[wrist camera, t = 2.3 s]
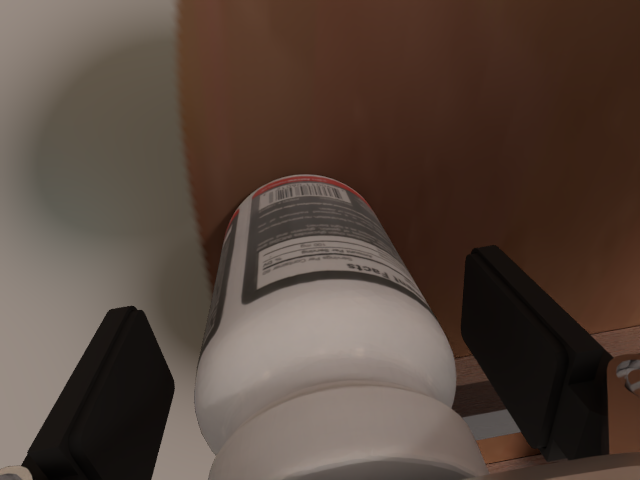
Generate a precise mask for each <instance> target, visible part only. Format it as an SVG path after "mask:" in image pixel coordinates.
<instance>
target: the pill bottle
mask: <svg viewBox="0 0 640 480" xmlns="http://www.w3.org/2000/svg"><path fill="white" fill-rule="evenodd" d="M194 392H195V396H194V400H195V402H194V403H195V412H196V416H197V420H198V424H199V426H200V430H201V433H202V435H203V437H204V438H205V440H206V442H207V444H208V445H209V447H210V448H211V450H212V452H213V453H214V454H215V455H216V457H215V459H214V462H213V464H212V467H211V470H210V473H209V478H208V480H462V479H467V478H473V477H478V476H483V475H489V474H490V473H489V471H488V469H487V466H486V464H485V462H484V460H483V457H482V455H481V452H480V450H479V447H478V445H477V443H476V440H475V438H474V436H473V434H472V432H471V430H470V428H469V427H468V425H467V423H466V422H465V421H464V420H463V419H462V418H461V416H460V415H459V414H457V413H456V412H455V411H454V410H452V409H451V408H452V405H453V402H454V397H455V392H456V367H455V360H454V356H453V352H452V350H451V347H450V345H449V342H448V340H447V338H446V335H445V334H444V332H443V330H442V328H441V326H440V324H439V322H438V320H437V318H436V317H435V315H434V314H433V312H432V310H431V309H430V307H429V305H428V303H427V302H426V300H425V298H424V297H423V295H422V293H421V292H420V290H419V288H418V287H417V285H416V283H415V281H414V280H413V278H412V276H411V275H410V273H409V271H408V269H407V268H406V266H405V264H404V263H403V261H402V259H401V258H400V256H399V254H398V253H397V251H396V249H395V247H394V246H393V244H392V242H391V241H390V239H389V237H388V235H387V234H386V232H385V230H384V229H383V227H382V225H381V224H380V222H379V220H378V218H377V216H376V214H375V213H374V211H373V210H372V209H371V207H370V206H369V204H368V203H367V202H366V201H365V200H364V198H363V197H362V196H361V195H360V194H358V193H357V192H356V191H355V190H353V189H352V188H350V187H349V186H347V185H345V184H343V183H341V182H339V181H337V180H334V179H332V178H328V177H325V176H319V175H309V174H302V175H292V176H287V177H282V178H279V179H276V180H274V181H271V182H269V183H267V184H265V185H263V186H262V187H260V188H258V189H257V190H256V191H254V192H253V193H252V194H250V195H249V196H248V197H247V198H246V199H245V200H244V201H243V202H242V203H241V204H240V206H239V207H238V208H237V210H236V211H235V213H234V215H233V216H232V218H231V220H230V222H229V225H228V228H227V230H226V233H225V237H224V242H223V247H222V252H221V257H220V262H219V267H218V272H217V277H216V281H215V286H214V291H213V296H212V301H211V306H210V310H209V315H208V320H207V325H206V329H205V333H204V339H203V344H202V349H201V352H200V357H199V362H198V366H197V374H196V383H195V391H194Z"/></svg>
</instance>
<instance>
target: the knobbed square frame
mask: <svg viewBox="0 0 640 480" xmlns="http://www.w3.org/2000/svg"><path fill="white" fill-rule="evenodd" d="M591 336H592V337H593V338H594V339H595V340H596V341H597V342H598V343H599V344H600V345H601V346H602V347H603V348H604V349H605V350H606V351H607V352H609V353H610V354H611V355H612V356H613V357H617V356H620V355H623V354H638V355H640V326H637V327H631V328H626V329H620V330H614V331H609V332H603V333H597V334H592V335H591ZM454 360H455V367H456V392H455V397H454V402H453V405H452V408H451V409H452V410H454V411H455V412H456V413H457V414H459V415H460V416H461V418H462V419H463V420H464V421H465V422H466V423H467V425H468V427H469V428H470V430H471V432H472V434H473V436H474V438H475V440H480V439H486V438H491V437H497V436H502V435H507V434H513V433H518V432H521V431H520V429H519V428H518V426H517V425H516V423H515V421H514V420H513V418H512V417H511V415H510V413H509V412H508V410H507V409H506V407H505V405H504V404H503V402H502V401H501V399H500V397H499V396H498V394H497V393H496V391H495V389H494V388H493V386H492V385H491V383H490V381H489V380H488V378H487V377H486V375H485V373H484V372H483V370H482V369H481V367H480V366H479V364H478V362H477V361H476V359H475V358H474V356H467V357H461V358H456V359H454ZM563 461H568V459H567V458H566V459H561V460H556V461H551V462H547V461H546V460H545V458H544V457H543V455H542V454H540V455H535V456H530V457H524V458H519V459H514V460H509V461H503V462H498V463H493V464H487V465H486V466H487V469H488V471H489V473H490V474H494V473H499V472H505V471H510V470H516V469H521V468H527V467H533V466H539V465H545V464H551V463H557V462H563Z"/></svg>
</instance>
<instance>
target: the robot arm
mask: <svg viewBox="0 0 640 480" xmlns="http://www.w3.org/2000/svg"><path fill="white" fill-rule="evenodd" d="M461 333H462V337H463V340H464V341H465V343H466V345H467V346H468V348H469V350H470V351H471V353H472V354H473V356H474V358H475V359H476V361H477V362H478V364H479V366H480V367H481V369H482V370H483V372H484V373H485V375H486V377H487V378H488V380H489V381H490V383H491V385H492V386H493V388H494V389H495V391H496V393H497V394H498V396H499V397H500V399H501V401H502V402H503V404H504V405H505V407H506V409H507V410H508V412H509V413H510V415H511V417H512V418H513V420H514V421H515V423H516V425H517V426H518V428H519V429H520V431H521V433H522V434H523V436H524V437H525V439H526V441H527V442H528V444H529V445H530V446H531V447H532V448H534V449H536V448H538V449H539V450H540V452H541V454H542V455H543V457H544V458H545V460H546V461H547V462H551V461H556V460H561V459H566V458H567V459H568V461H563V462H557V463H551V464H545V465H539V466H533V467H527V468H521V469H516V470H510V471H505V472H499V473H494V474H489V475H483V476H478V477H473V478H467V479H462V480H640V355H638V354H623V355H620V356H617V357H613V356H612V355H611V354H610V353H609V352H607V351H606V350H605V349H604V348H603V347H602V346H601V345H600V344H599V343H598V342H597V341H596V340H595V339H594V338H593V337H592V336H591V335H590V334H589V333H588V332H587V331H586V330H585V329H583V328H582V327H581V326H580V325H579V324H578V323H577V322H576V321H575V320H574V319H573V318H572V317H571V316H570V315H569V314H568V313H567V312H566V311H565V310H564V309H562V308H561V307H560V306H559V305H558V304H557V303H556V302H555V301H554V300H553V299H552V298H551V297H550V296H549V295H548V294H547V293H546V292H545V291H544V290H542V289H541V288H540V287H539V286H538V285H537V284H536V283H535V282H534V281H533V280H532V279H531V278H530V277H529V276H528V275H527V274H526V273H525V272H524V271H523V270H521V269H520V268H519V267H518V266H517V265H516V264H515V263H514V262H513V261H512V260H511V259H510V258H509V257H508V256H507V255H506V254H505V253H504V252H503V251H501V250H500V249H499V248H498V247H497V246H495V245H492V246H486V247H480V248H474V249H473V250H472V252H471V254H469V255H467V256H466V261H465V275H464V290H463V304H462V318H461ZM174 387H175V386H174V380H173V377H172V375H171V373H170V370H169V368H168V365H167V363H166V361H165V359H164V356H163V354H162V352H161V349H160V347H159V345H158V343H157V340H156V338H155V336H154V333H153V331H152V329H151V327H150V324H149V322H148V320H147V317H146V315H145V313H144V312H143V311H142V310H137V309H136V308H135V307H134V306H127V307H121V308H116V309H111V310H109V311H108V312H107V314H106V316H105V317H104V319H103V321H102V323H101V325H100V326H99V328H98V330H97V331H96V333H95V335H94V337H93V338H92V340H91V342H90V344H89V346H88V347H87V349H86V351H85V352H84V355H83V356H82V358H81V360H80V361H79V363H78V365H77V366H76V368H75V370H74V372H73V374H72V375H71V377H70V379H69V380H68V382H67V384H66V386H65V387H64V389H63V391H62V392H61V394H60V396H59V398H58V400H57V401H56V403H55V405H54V407H53V408H52V410H51V412H50V414H49V415H48V417H47V419H46V420H45V422H44V424H43V426H42V428H41V429H40V431H39V433H38V434H37V436H36V438H35V440H34V441H33V443H32V445H31V447H30V448H29V450H28V452H27V453H28V454H27V456H26V458H25V460H24V461H23V463H22V465H21V466H8V467H5V468H2V469H0V480H151V478H152V475H153V471H154V467H155V463H156V460H157V456H158V452H159V448H160V444H161V440H162V437H163V433H164V429H165V425H166V422H167V418H168V414H169V410H170V406H171V403H172V399H173V394H174V389H175V388H174Z"/></svg>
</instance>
